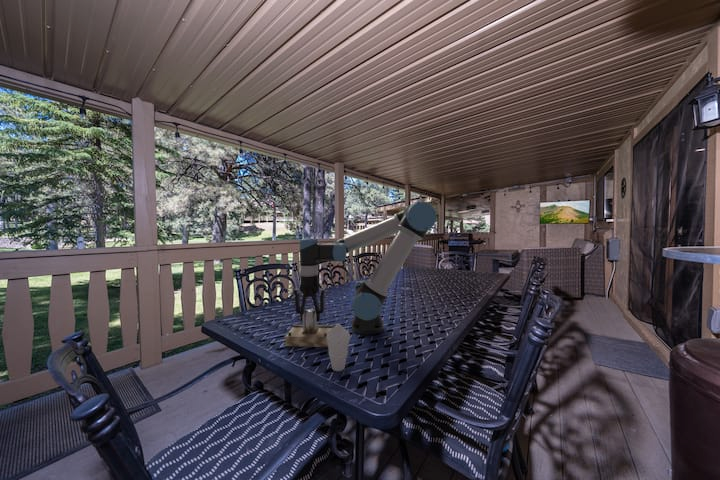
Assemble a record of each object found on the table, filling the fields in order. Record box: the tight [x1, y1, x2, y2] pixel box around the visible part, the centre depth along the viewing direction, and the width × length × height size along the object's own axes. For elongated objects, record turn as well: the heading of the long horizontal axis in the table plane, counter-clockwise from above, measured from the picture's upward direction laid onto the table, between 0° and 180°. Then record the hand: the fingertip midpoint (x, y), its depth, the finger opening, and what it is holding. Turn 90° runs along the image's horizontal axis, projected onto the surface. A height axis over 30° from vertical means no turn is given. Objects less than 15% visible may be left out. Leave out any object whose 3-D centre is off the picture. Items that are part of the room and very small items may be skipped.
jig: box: [284, 323, 334, 348], centre depth 116 cm, size 18×12×5 cm, turn 86°
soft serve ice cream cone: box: [326, 322, 351, 372], centre depth 93 cm, size 8×8×16 cm
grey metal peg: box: [304, 308, 316, 334], centre depth 116 cm, size 4×4×10 cm
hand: (310, 328), depth 116 cm, fingers closed on grey metal peg, 4 cm apart
